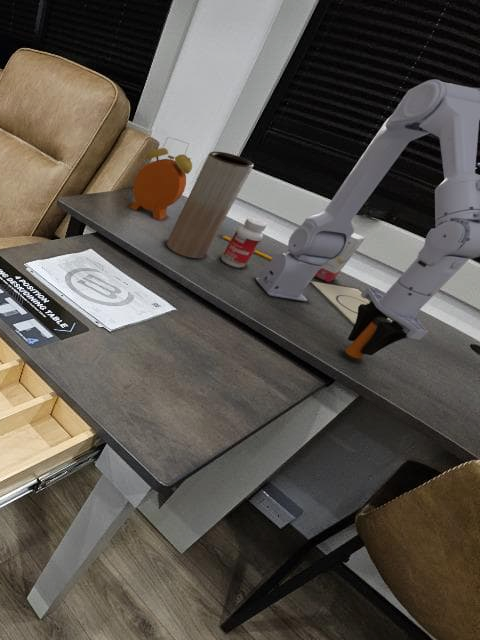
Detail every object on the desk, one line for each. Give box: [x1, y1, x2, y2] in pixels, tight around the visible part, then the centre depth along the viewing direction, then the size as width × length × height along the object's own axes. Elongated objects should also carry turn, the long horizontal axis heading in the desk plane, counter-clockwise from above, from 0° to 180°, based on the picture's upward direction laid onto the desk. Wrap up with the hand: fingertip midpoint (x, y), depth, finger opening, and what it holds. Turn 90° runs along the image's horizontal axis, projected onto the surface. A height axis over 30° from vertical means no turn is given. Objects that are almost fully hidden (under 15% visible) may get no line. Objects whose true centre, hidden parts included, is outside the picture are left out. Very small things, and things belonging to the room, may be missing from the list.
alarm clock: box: [129, 136, 193, 221], centre depth 130 cm, size 13×6×20 cm, turn 49°
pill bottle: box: [220, 217, 267, 269], centre depth 114 cm, size 6×6×11 cm
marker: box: [342, 316, 391, 362], centre depth 88 cm, size 3×3×9 cm
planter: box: [166, 150, 254, 259], centre depth 111 cm, size 10×10×23 cm
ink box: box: [314, 232, 366, 283], centre depth 117 cm, size 9×5×12 cm, turn 33°
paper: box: [310, 280, 392, 326], centre depth 109 cm, size 13×20×1 cm, turn 177°
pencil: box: [221, 235, 273, 261], centre depth 126 cm, size 1×18×1 cm, turn 39°
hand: (359, 346), depth 89 cm, fingers open, 4 cm apart
